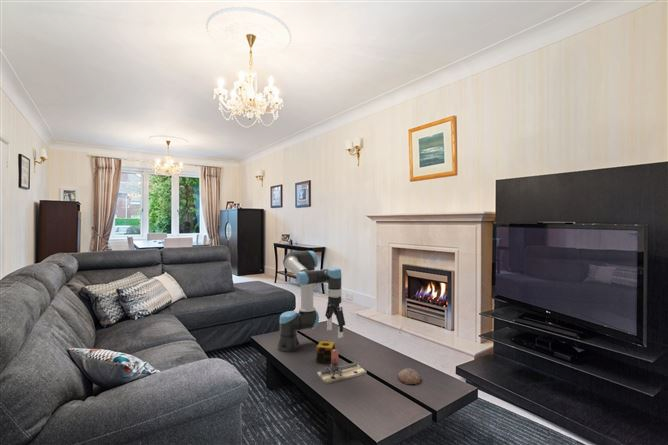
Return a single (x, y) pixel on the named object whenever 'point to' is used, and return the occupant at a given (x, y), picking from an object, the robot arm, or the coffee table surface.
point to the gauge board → (345, 374)
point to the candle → (324, 352)
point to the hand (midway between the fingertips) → (334, 333)
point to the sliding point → (335, 361)
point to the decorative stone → (409, 376)
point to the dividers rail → (329, 370)
